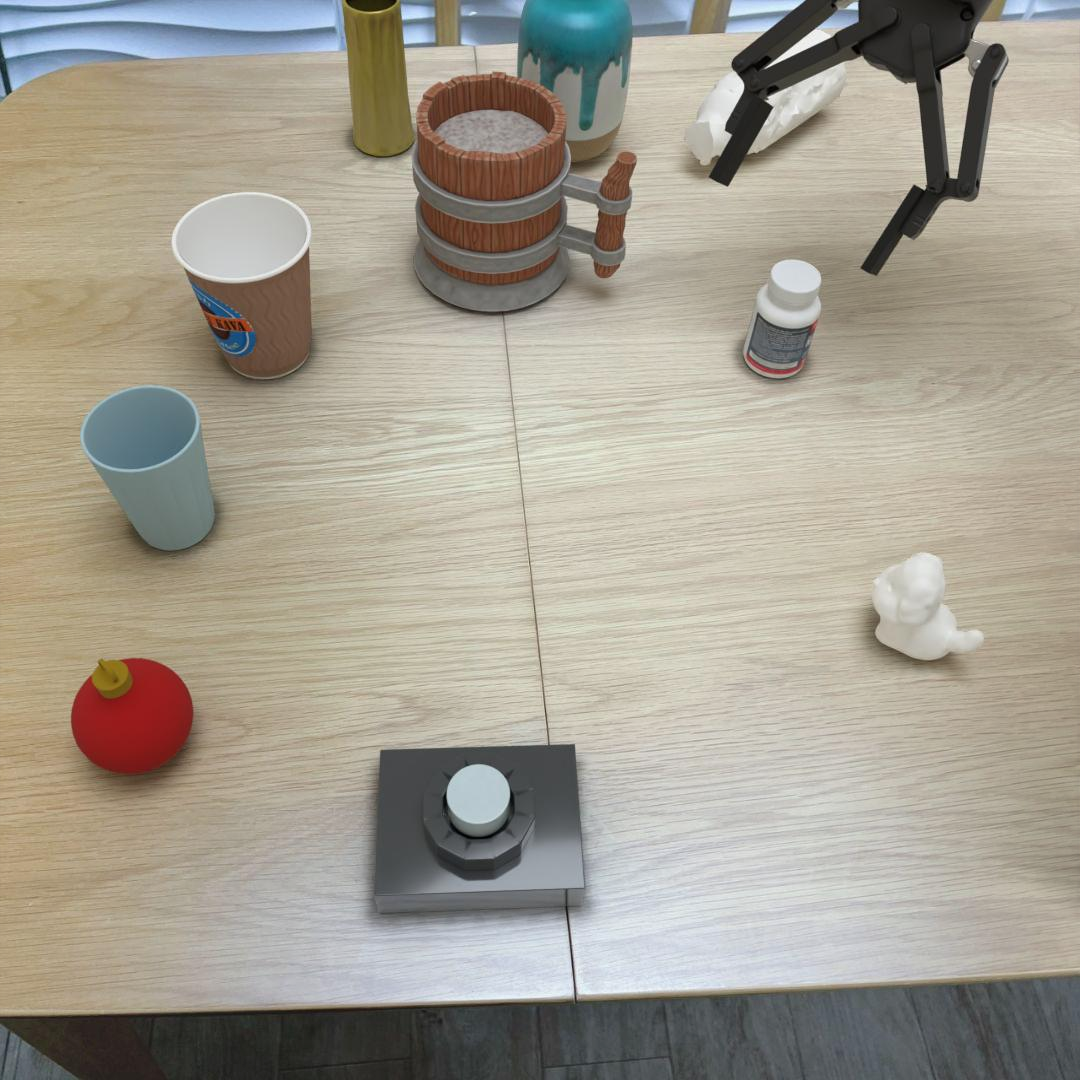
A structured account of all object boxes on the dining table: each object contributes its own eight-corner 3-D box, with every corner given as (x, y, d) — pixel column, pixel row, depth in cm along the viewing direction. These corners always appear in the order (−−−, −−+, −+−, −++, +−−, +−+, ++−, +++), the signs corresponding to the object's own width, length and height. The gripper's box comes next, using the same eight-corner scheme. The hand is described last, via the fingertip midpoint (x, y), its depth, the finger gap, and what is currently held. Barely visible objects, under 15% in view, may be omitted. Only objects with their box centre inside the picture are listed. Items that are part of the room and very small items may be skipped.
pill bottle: (808, 381, 91) (835, 299, 84) (746, 379, 91) (767, 298, 84) (799, 336, 94) (824, 254, 87) (739, 335, 94) (759, 252, 87)
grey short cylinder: (508, 777, 65) (509, 762, 63) (510, 836, 63) (510, 822, 61) (447, 779, 65) (446, 764, 63) (447, 838, 62) (446, 824, 61)
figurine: (861, 589, 79) (894, 522, 73) (971, 624, 78) (1015, 559, 71) (847, 649, 76) (879, 585, 70) (961, 686, 75) (1005, 625, 68)
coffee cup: (180, 348, 91) (143, 231, 81) (280, 291, 95) (256, 174, 86) (255, 415, 87) (225, 300, 77) (356, 352, 91) (339, 236, 82)
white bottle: (660, 161, 109) (670, 87, 102) (775, 86, 117) (790, 14, 110) (723, 197, 105) (737, 123, 99) (836, 118, 114) (856, 45, 107)
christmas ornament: (226, 739, 71) (191, 662, 62) (133, 815, 67) (84, 744, 59) (161, 672, 73) (119, 590, 65) (68, 741, 70) (12, 664, 62)
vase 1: (373, 115, 111) (359, -26, 100) (426, 132, 110) (417, -9, 98) (341, 146, 108) (323, 4, 97) (395, 164, 107) (382, 22, 95)
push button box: (572, 765, 70) (576, 730, 66) (581, 905, 65) (587, 877, 61) (384, 770, 70) (377, 736, 66) (378, 913, 64) (370, 885, 60)
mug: (452, 198, 104) (446, 48, 92) (644, 251, 100) (665, 102, 88) (387, 289, 96) (371, 139, 84) (592, 351, 92) (607, 203, 80)
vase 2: (518, 114, 112) (522, -81, 97) (621, 119, 112) (641, -75, 97) (512, 177, 106) (515, -21, 91) (621, 183, 106) (643, -14, 91)
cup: (251, 502, 82) (222, 406, 73) (190, 578, 78) (152, 487, 69) (167, 467, 84) (129, 370, 75) (103, 541, 79) (55, 447, 71)
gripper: (1137, 33, 73) (944, 314, 81) (825, -115, 80) (677, 155, 89) (1137, 1, 66) (926, 310, 74) (797, -157, 74) (641, 138, 82)
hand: (790, 226), depth 81 cm, fingers open, 13 cm apart
